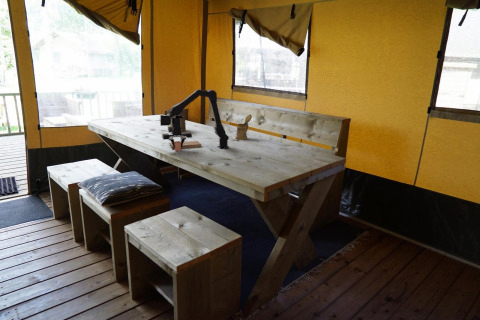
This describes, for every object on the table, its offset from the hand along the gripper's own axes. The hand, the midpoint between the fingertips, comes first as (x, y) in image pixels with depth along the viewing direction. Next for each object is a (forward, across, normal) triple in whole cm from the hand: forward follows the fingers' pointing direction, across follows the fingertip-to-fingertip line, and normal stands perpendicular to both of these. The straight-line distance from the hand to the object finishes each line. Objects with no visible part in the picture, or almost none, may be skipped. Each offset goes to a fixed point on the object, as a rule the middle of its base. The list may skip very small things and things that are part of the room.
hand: (177, 148), depth 221 cm
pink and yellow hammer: (+1, 0, -5) cm, 5 cm away
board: (+1, -7, -8) cm, 11 cm away
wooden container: (+1, -12, -62) cm, 64 cm away
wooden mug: (+1, -55, -18) cm, 58 cm away
